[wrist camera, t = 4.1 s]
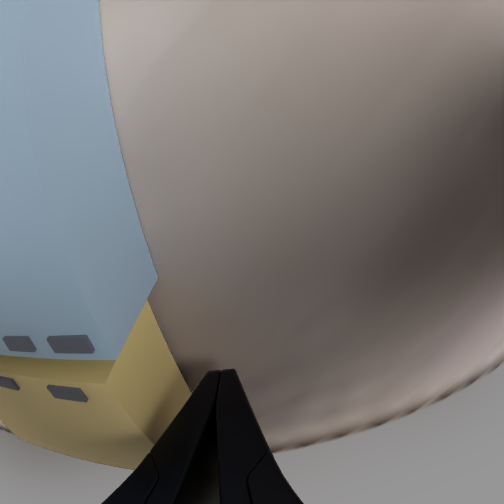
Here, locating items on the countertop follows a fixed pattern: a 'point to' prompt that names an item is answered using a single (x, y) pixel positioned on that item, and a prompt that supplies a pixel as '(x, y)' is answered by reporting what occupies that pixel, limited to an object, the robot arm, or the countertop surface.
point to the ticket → (64, 191)
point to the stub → (96, 399)
